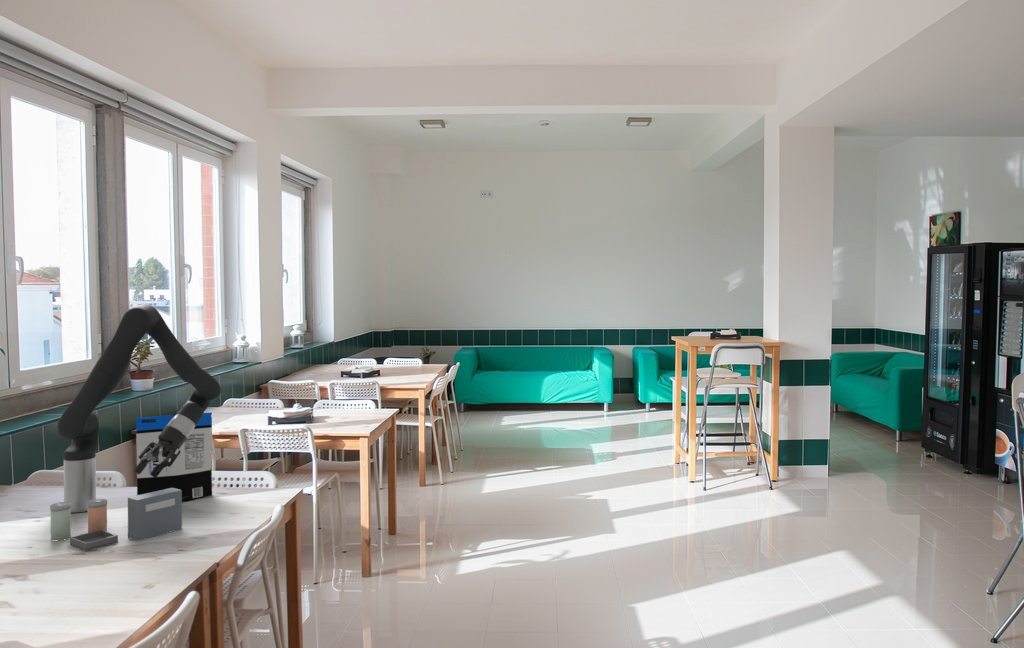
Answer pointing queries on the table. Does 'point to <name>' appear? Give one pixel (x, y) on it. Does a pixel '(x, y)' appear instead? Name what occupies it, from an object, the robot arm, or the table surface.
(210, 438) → the protein powder
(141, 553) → the table surface
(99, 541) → the charcoal tray
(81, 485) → the robot arm
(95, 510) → the cylinder
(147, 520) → the dark grey unit
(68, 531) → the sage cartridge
